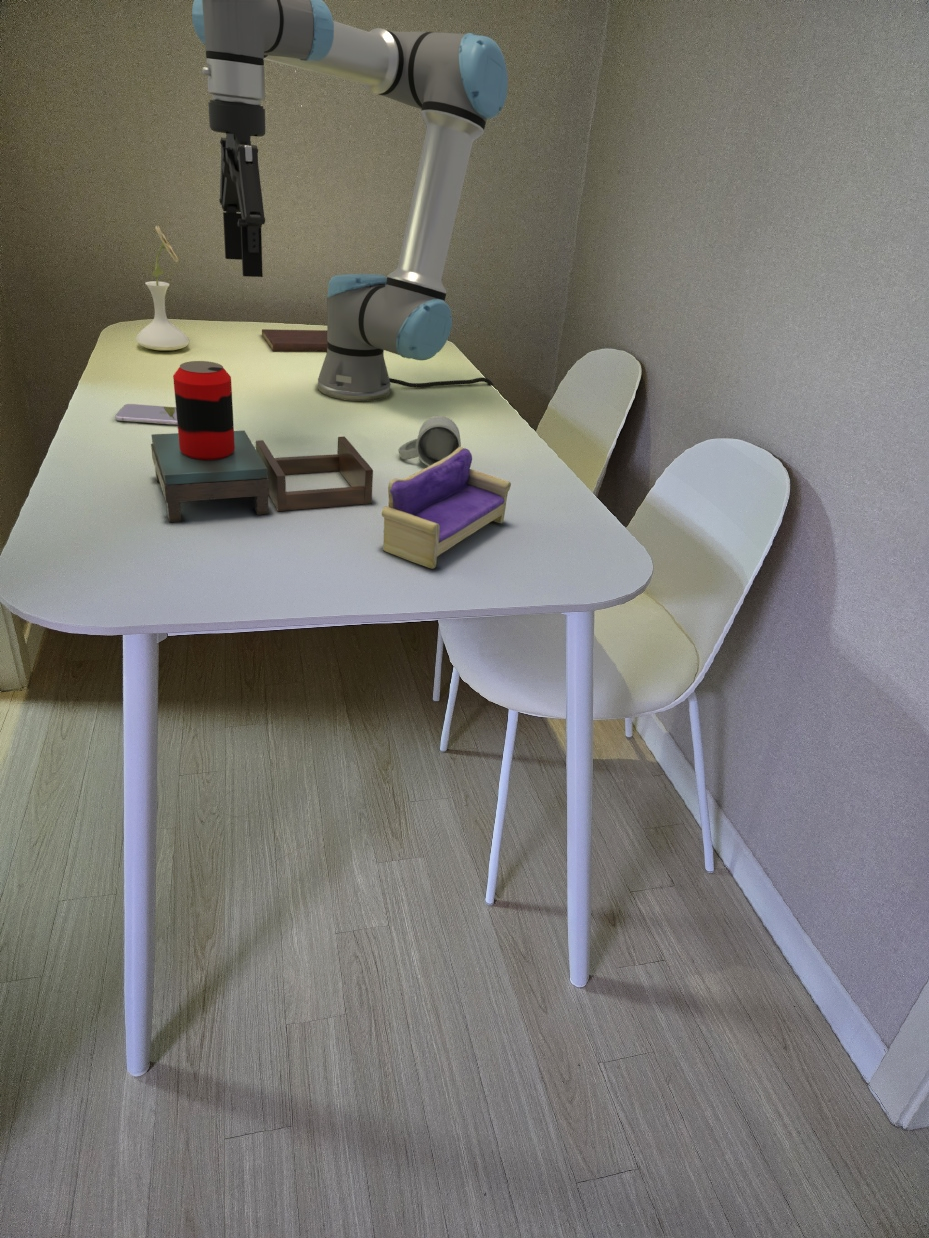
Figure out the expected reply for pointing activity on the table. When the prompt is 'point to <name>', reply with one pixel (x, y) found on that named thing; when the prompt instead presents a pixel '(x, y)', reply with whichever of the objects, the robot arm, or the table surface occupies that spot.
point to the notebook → (296, 340)
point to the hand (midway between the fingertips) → (243, 267)
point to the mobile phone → (147, 414)
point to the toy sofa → (440, 508)
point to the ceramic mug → (433, 441)
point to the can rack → (343, 461)
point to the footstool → (209, 474)
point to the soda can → (204, 410)
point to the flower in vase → (161, 313)
